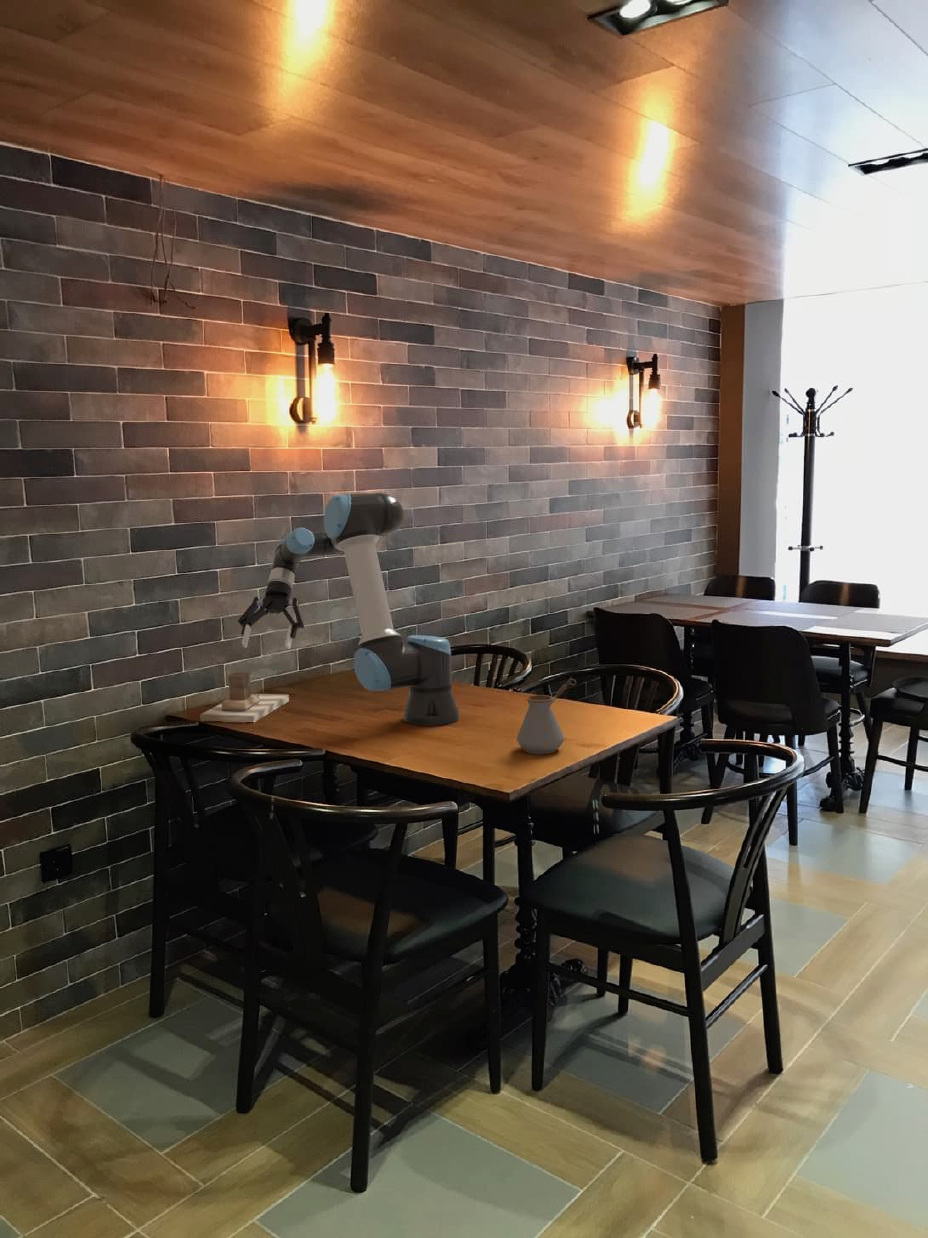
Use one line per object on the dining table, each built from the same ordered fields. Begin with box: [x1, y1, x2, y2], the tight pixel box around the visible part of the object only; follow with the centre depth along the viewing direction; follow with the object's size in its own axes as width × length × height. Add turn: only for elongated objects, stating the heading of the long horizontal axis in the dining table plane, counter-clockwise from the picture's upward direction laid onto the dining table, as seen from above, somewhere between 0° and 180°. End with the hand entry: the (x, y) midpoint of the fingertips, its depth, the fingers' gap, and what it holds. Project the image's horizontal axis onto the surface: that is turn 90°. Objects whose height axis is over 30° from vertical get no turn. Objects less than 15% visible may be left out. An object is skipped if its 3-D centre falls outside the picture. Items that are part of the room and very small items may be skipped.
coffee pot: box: [516, 677, 577, 755], centre depth 239 cm, size 21×12×15 cm, turn 143°
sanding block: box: [221, 672, 260, 711], centre depth 282 cm, size 11×7×10 cm, turn 171°
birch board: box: [199, 693, 290, 723], centre depth 286 cm, size 26×16×2 cm, turn 168°
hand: (265, 646), depth 291 cm, fingers open, 13 cm apart
